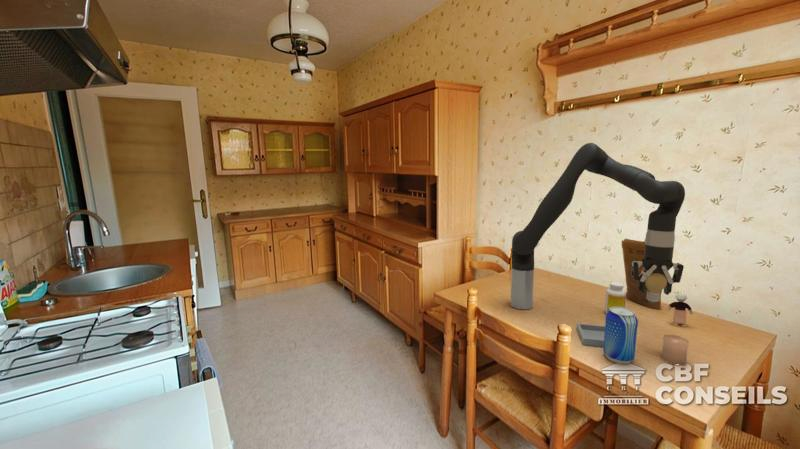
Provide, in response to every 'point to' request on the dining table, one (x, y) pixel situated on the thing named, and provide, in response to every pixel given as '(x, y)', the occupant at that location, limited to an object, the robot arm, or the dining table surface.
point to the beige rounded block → (674, 349)
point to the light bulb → (655, 286)
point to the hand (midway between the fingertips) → (653, 292)
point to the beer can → (620, 335)
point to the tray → (591, 334)
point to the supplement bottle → (614, 296)
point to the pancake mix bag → (636, 252)
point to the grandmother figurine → (680, 310)
